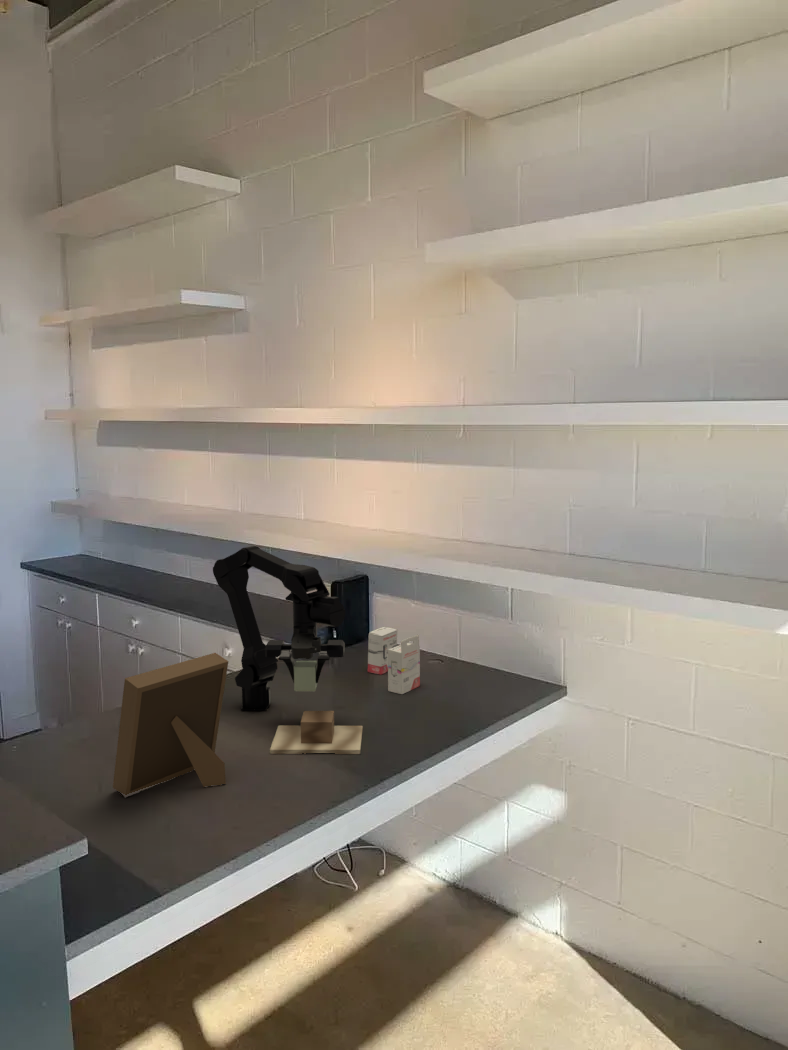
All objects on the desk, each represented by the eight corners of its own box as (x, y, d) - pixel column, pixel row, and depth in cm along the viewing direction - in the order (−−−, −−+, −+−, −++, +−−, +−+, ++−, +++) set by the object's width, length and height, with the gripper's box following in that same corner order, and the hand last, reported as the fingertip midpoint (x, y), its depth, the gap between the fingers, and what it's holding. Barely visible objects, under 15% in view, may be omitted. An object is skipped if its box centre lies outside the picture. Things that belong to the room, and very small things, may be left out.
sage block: (294, 691, 203) (293, 667, 202) (296, 684, 208) (296, 660, 207) (315, 691, 203) (314, 667, 202) (317, 684, 208) (316, 660, 207)
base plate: (269, 753, 188) (269, 728, 187) (278, 729, 202) (278, 705, 201) (360, 754, 188) (360, 728, 187) (362, 729, 202) (362, 705, 201)
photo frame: (112, 791, 170) (108, 671, 166) (200, 757, 186) (198, 647, 182) (157, 815, 160) (153, 689, 156) (245, 777, 177) (244, 661, 173)
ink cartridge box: (405, 682, 235) (406, 631, 233) (420, 686, 232) (420, 634, 230) (386, 691, 229) (386, 638, 226) (401, 695, 226) (401, 641, 224)
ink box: (381, 675, 241) (381, 635, 240) (367, 672, 244) (366, 632, 242) (398, 667, 249) (398, 628, 247) (383, 664, 251) (383, 625, 250)
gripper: (260, 629, 195) (262, 694, 197) (341, 629, 195) (342, 694, 197) (267, 616, 206) (269, 678, 208) (344, 616, 206) (345, 678, 208)
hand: (305, 682), depth 205 cm, fingers closed on sage block, 5 cm apart
